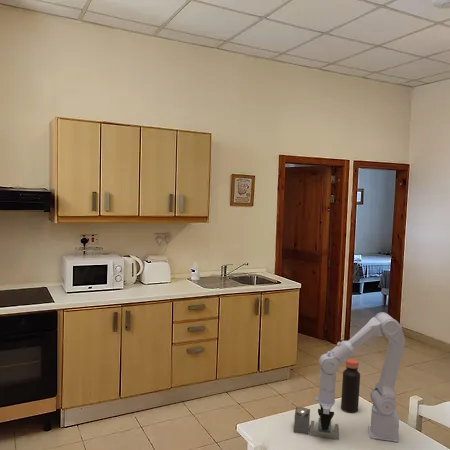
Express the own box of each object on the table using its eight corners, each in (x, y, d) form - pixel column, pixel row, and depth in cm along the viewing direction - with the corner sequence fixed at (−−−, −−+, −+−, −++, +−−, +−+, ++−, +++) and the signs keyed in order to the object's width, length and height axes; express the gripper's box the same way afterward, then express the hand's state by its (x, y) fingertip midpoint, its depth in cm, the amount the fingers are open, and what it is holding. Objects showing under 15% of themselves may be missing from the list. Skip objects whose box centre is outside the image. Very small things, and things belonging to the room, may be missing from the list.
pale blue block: (330, 429, 165) (331, 416, 165) (330, 436, 161) (331, 422, 160) (318, 428, 166) (318, 415, 166) (317, 434, 161) (318, 420, 161)
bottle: (349, 414, 177) (352, 365, 176) (337, 407, 183) (340, 359, 181) (361, 411, 180) (364, 362, 179) (349, 403, 186) (352, 357, 185)
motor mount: (338, 428, 166) (339, 410, 165) (338, 439, 158) (339, 420, 158) (295, 422, 169) (295, 404, 168) (293, 433, 161) (294, 414, 161)
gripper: (316, 378, 170) (314, 413, 171) (315, 394, 156) (313, 432, 157) (335, 380, 168) (333, 415, 169) (336, 397, 154) (333, 435, 155)
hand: (324, 424), depth 163 cm, fingers open, 7 cm apart
